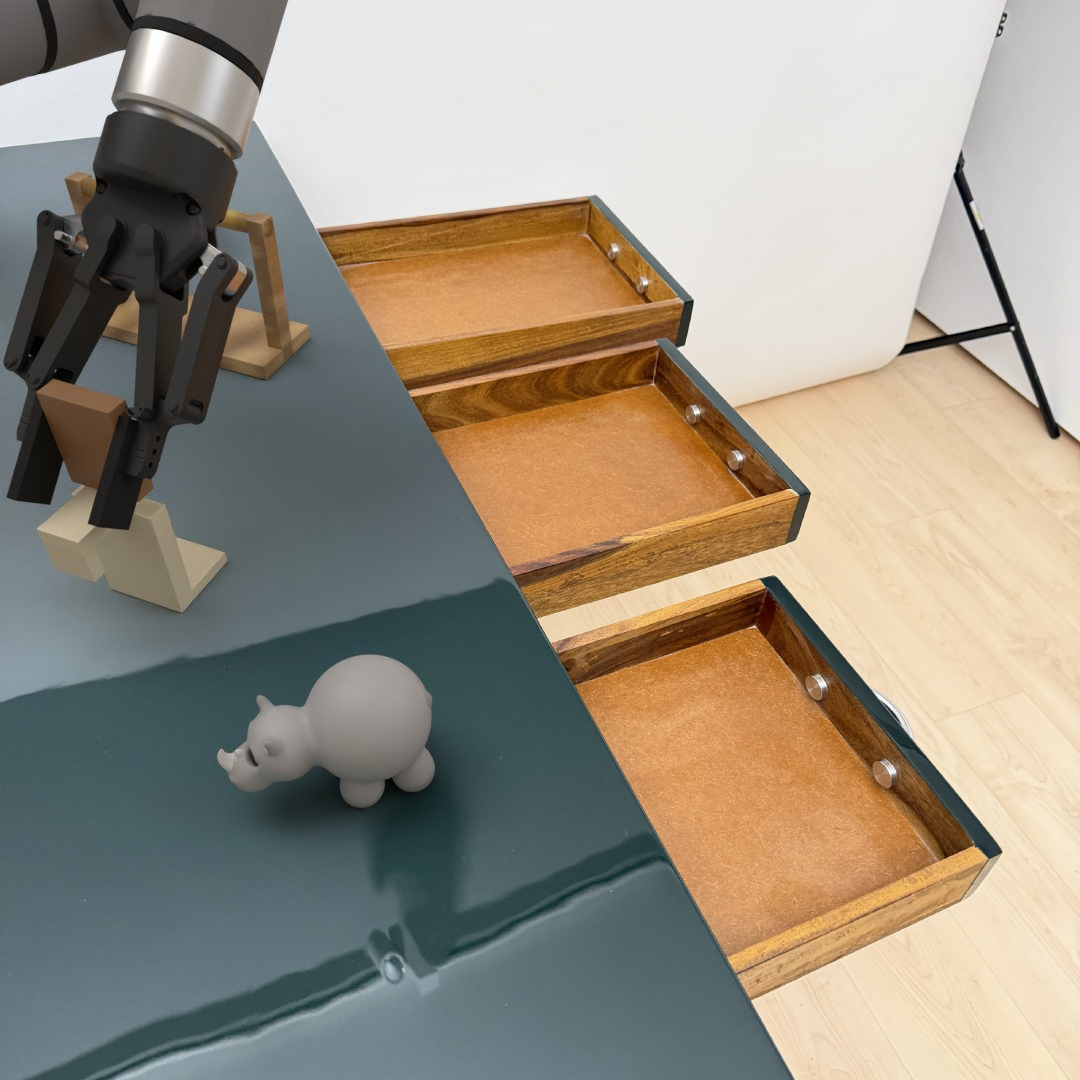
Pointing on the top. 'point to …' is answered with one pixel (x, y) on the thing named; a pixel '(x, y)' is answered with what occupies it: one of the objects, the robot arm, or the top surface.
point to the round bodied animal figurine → (343, 733)
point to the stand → (252, 335)
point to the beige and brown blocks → (121, 555)
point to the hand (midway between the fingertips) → (68, 513)
